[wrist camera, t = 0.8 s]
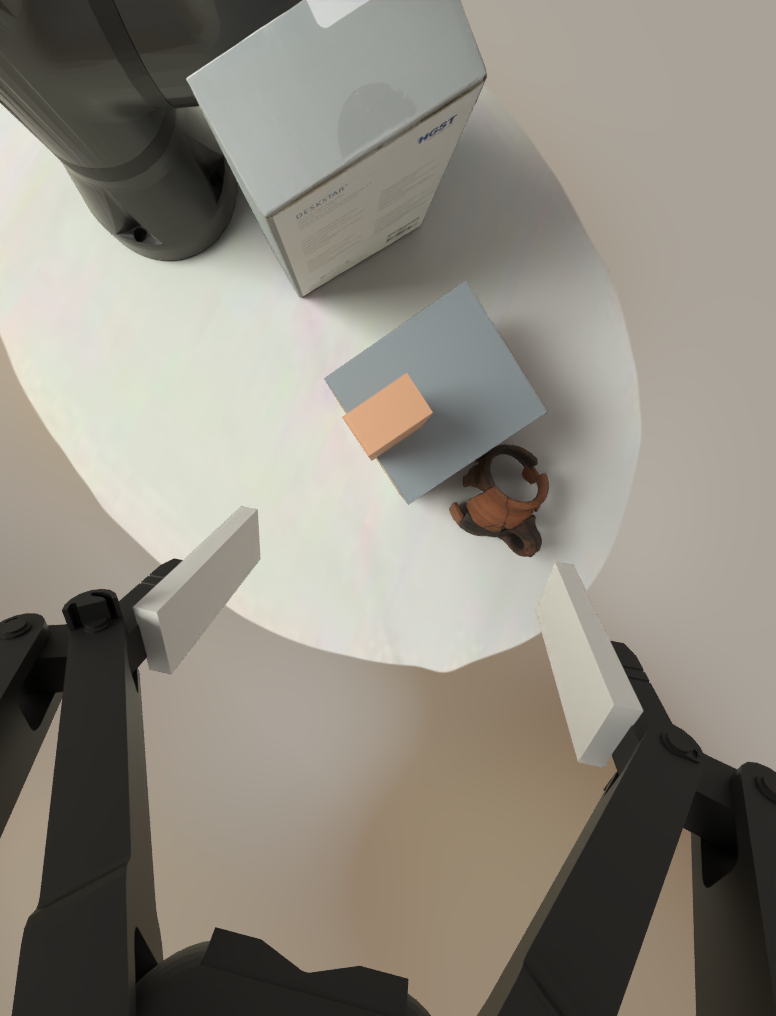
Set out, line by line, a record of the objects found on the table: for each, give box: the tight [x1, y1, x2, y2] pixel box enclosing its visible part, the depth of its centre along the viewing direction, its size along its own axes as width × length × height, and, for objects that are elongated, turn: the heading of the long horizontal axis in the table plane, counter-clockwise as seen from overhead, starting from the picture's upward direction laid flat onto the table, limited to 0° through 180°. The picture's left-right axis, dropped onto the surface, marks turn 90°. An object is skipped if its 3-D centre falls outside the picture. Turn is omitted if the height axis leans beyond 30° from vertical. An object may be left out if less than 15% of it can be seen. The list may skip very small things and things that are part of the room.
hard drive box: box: [186, 0, 487, 297], centre depth 30 cm, size 16×8×20 cm, turn 121°
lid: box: [324, 281, 547, 505], centre depth 28 cm, size 13×14×8 cm
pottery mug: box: [450, 444, 549, 557], centre depth 41 cm, size 12×10×8 cm
